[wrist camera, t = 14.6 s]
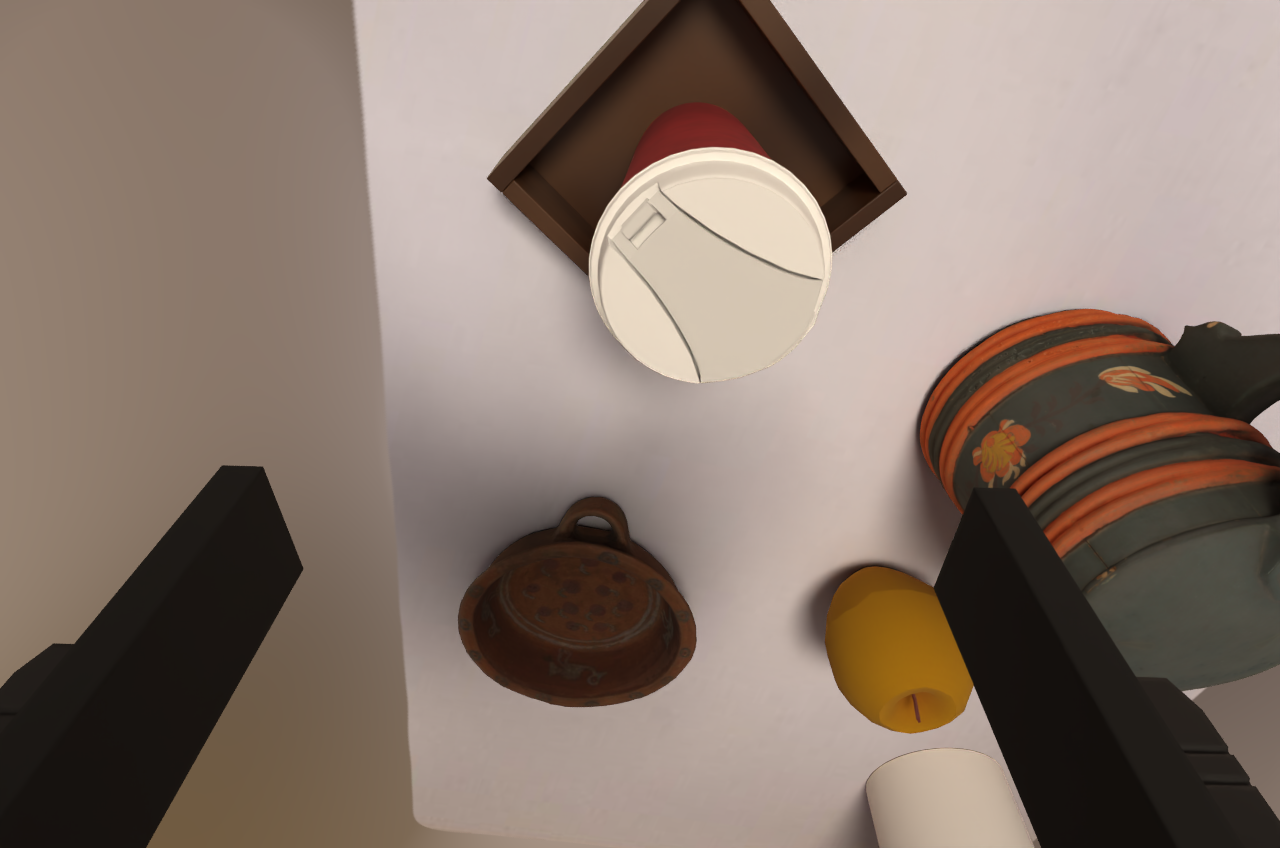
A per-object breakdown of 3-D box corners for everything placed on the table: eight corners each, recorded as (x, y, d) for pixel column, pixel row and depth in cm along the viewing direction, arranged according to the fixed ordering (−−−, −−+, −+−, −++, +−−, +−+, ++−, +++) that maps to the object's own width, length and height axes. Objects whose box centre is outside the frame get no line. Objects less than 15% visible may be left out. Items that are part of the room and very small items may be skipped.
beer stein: (1050, 196, 35) (1384, 415, 19) (1285, 273, 37) (1767, 530, 21) (877, 468, 46) (995, 757, 30) (1067, 516, 48) (1275, 812, 32)
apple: (958, 538, 50) (1029, 681, 40) (921, 624, 55) (976, 767, 46) (824, 532, 50) (863, 673, 40) (801, 618, 55) (830, 760, 46)
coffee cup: (579, 168, 35) (533, 294, 22) (696, 33, 31) (717, 94, 19) (694, 276, 38) (709, 437, 26) (812, 164, 34) (896, 290, 22)
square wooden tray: (503, 155, 35) (486, 178, 32) (710, -74, 29) (716, -75, 26) (681, 332, 40) (683, 368, 37) (884, 170, 35) (908, 194, 31)
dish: (727, 501, 48) (733, 553, 44) (663, 682, 61) (663, 736, 57) (479, 461, 47) (462, 511, 43) (466, 655, 59) (452, 708, 55)
